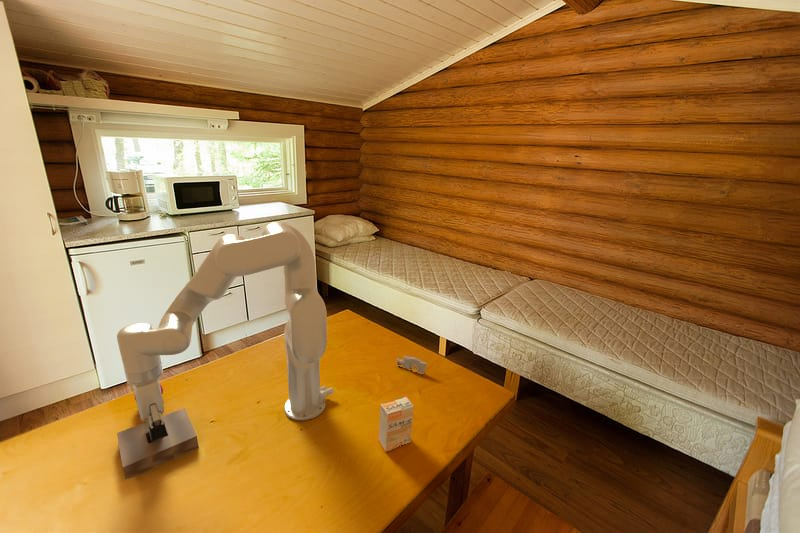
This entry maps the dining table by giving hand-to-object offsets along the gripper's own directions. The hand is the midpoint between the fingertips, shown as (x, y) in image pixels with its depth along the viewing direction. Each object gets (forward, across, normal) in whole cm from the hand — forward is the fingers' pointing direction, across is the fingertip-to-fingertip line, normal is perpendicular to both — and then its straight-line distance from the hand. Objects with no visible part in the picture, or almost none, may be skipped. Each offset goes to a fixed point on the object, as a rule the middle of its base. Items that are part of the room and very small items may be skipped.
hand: (156, 426), depth 95 cm
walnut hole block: (+7, 0, 0) cm, 7 cm away
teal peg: (+7, 0, 0) cm, 7 cm away
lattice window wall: (+7, +16, +79) cm, 81 cm away
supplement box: (+7, +39, +51) cm, 64 cm away
